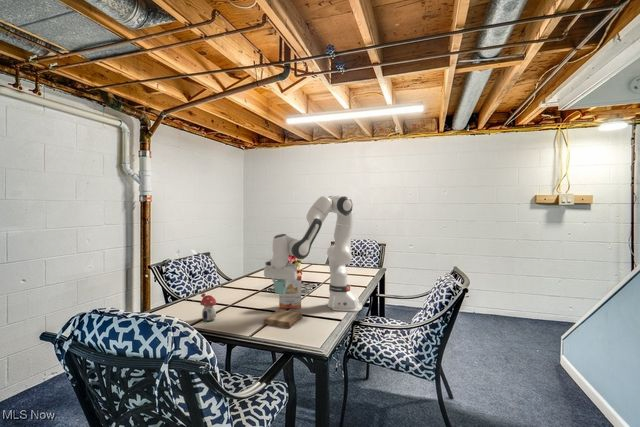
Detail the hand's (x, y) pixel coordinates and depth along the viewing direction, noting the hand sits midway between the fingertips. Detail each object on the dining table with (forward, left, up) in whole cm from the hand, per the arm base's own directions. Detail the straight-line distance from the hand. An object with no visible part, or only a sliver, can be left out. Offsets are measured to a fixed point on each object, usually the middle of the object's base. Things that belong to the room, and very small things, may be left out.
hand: (280, 286), depth 173 cm
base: (-3, +2, -19) cm, 19 cm away
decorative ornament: (+38, +17, -19) cm, 45 cm away
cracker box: (+3, -19, -19) cm, 27 cm away
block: (0, -1, -4) cm, 4 cm away
